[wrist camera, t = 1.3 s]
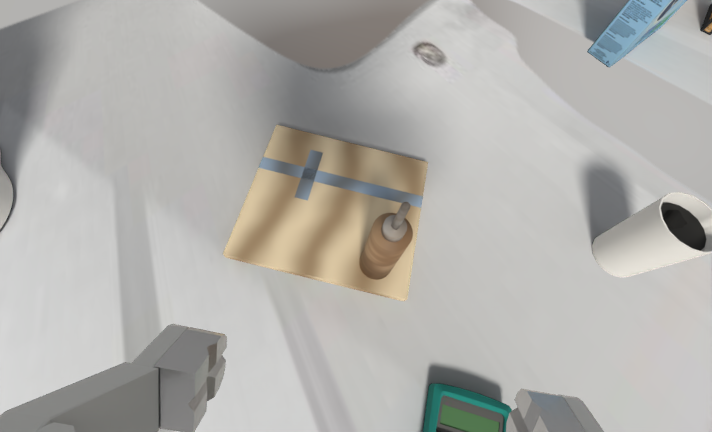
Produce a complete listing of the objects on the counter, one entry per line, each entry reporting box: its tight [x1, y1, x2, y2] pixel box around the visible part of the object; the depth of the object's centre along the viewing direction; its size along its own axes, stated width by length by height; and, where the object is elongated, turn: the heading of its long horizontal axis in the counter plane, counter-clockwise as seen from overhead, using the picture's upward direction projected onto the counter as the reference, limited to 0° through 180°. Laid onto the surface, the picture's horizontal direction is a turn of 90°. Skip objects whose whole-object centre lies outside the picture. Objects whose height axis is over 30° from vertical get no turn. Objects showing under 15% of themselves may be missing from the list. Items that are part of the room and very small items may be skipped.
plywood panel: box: [223, 125, 428, 301], centre depth 42 cm, size 20×18×1 cm
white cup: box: [592, 192, 712, 278], centre depth 39 cm, size 7×7×10 cm
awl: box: [359, 202, 413, 280], centre depth 32 cm, size 4×4×14 cm
